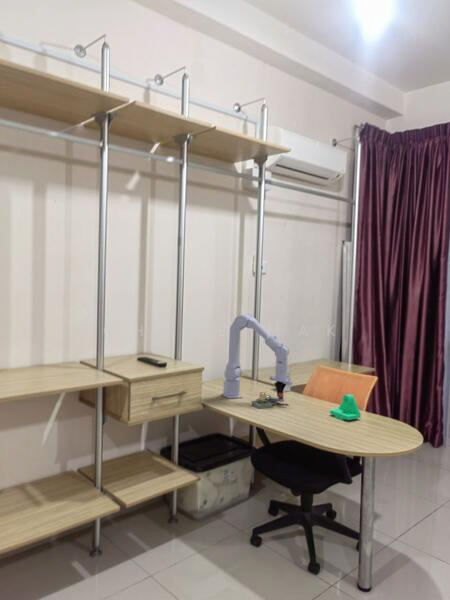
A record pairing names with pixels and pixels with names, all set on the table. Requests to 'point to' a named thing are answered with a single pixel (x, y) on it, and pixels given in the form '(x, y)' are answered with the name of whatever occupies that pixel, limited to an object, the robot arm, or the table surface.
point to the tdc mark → (284, 404)
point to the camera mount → (347, 409)
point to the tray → (256, 404)
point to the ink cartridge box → (287, 387)
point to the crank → (269, 398)
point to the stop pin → (262, 398)
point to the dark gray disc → (270, 402)
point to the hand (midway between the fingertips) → (280, 396)
